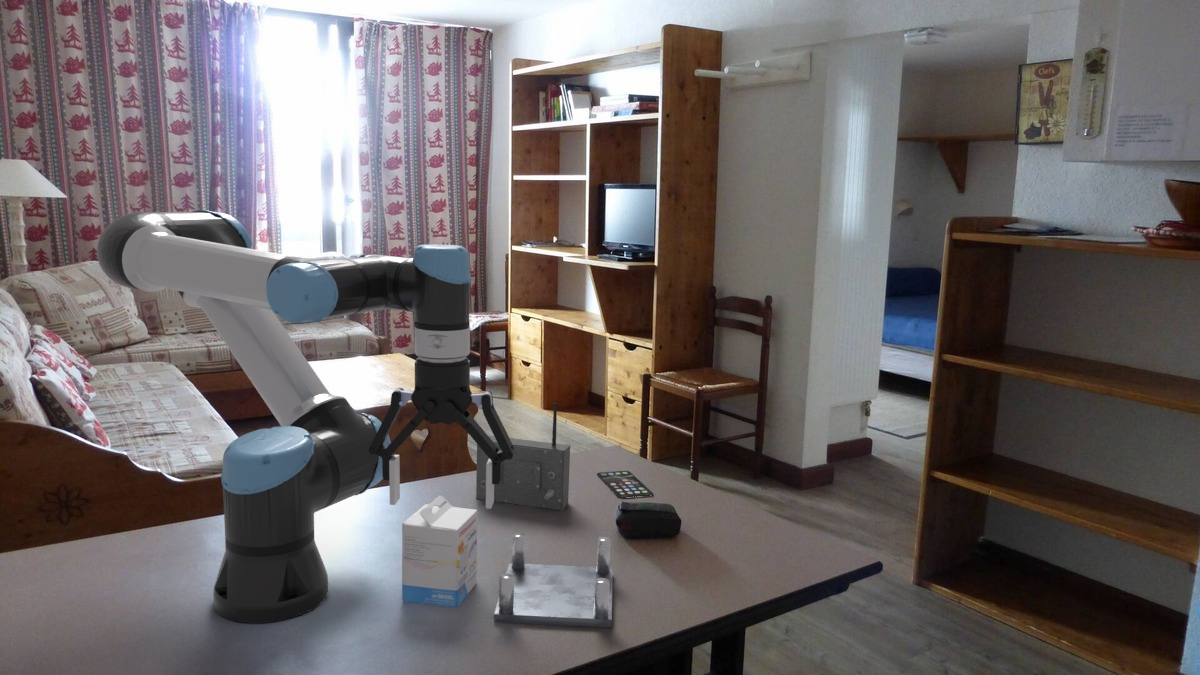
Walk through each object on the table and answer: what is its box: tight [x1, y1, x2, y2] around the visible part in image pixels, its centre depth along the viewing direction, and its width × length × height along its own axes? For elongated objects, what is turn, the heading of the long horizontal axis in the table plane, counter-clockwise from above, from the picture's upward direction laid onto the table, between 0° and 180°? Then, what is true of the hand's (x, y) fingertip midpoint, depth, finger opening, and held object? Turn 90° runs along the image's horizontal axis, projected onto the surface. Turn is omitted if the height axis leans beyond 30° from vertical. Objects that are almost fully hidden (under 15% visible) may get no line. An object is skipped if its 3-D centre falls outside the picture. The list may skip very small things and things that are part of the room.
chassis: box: [493, 532, 614, 629], centre depth 125 cm, size 16×16×6 cm
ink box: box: [401, 495, 478, 609], centre depth 124 cm, size 9×8×13 cm
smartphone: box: [596, 470, 654, 499], centre depth 173 cm, size 7×1×15 cm
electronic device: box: [475, 402, 571, 511], centre depth 159 cm, size 17×7×20 cm, turn 75°
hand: (442, 503), depth 123 cm, fingers open, 13 cm apart
